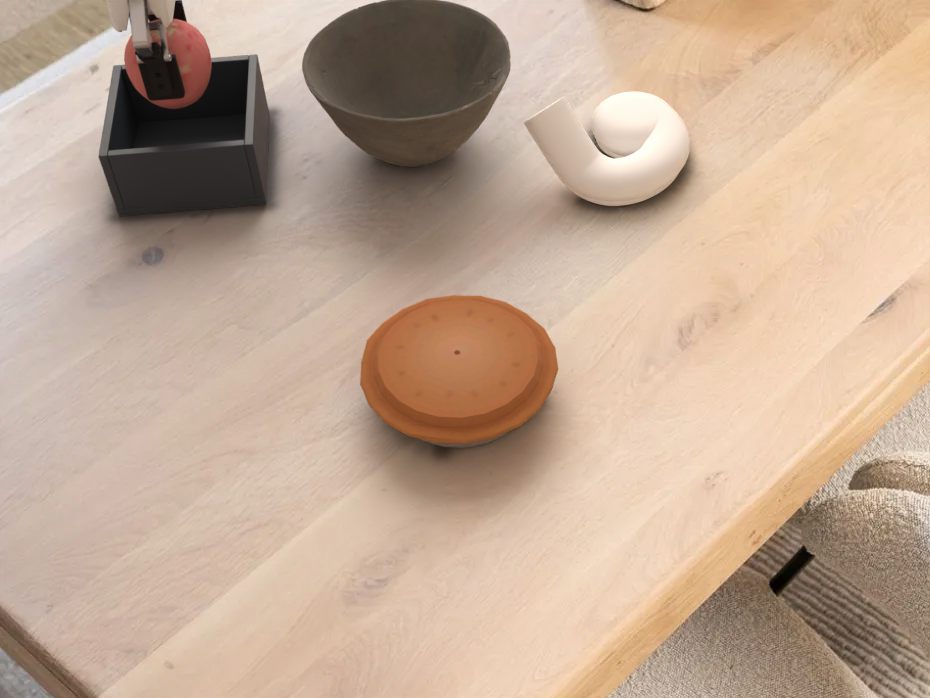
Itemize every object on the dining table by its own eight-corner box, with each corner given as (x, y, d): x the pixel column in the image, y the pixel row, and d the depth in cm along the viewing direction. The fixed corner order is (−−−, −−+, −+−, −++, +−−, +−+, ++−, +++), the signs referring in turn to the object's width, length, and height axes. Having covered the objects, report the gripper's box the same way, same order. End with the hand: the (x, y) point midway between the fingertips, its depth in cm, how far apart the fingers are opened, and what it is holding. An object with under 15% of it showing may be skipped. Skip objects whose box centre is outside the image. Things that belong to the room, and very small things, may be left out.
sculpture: (720, 151, 117) (731, 79, 110) (619, 233, 110) (624, 161, 104) (620, 100, 122) (625, 28, 116) (519, 175, 116) (517, 103, 109)
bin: (118, 216, 114) (98, 156, 109) (131, 125, 122) (113, 65, 117) (266, 204, 114) (253, 144, 109) (269, 114, 123) (257, 53, 117)
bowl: (477, 228, 112) (472, 136, 104) (286, 189, 116) (268, 98, 108) (538, 105, 122) (538, 13, 114) (362, 73, 126) (350, -18, 118)
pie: (515, 305, 105) (514, 261, 101) (586, 436, 97) (589, 394, 93) (341, 355, 103) (333, 312, 99) (398, 495, 94) (392, 454, 90)
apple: (223, 73, 115) (205, -6, 108) (217, 122, 110) (197, 43, 104) (143, 78, 115) (120, -1, 108) (133, 127, 110) (109, 48, 104)
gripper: (81, -179, 101) (136, 17, 115) (54, -66, 91) (118, 134, 105) (173, -185, 101) (217, 11, 115) (157, -74, 91) (207, 127, 105)
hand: (170, 68), depth 110 cm, fingers closed on apple, 7 cm apart
